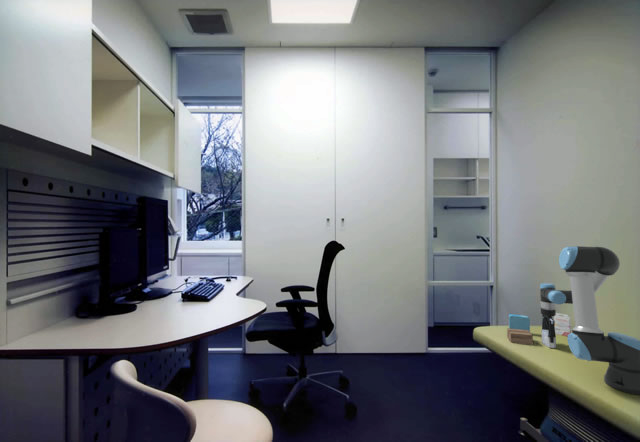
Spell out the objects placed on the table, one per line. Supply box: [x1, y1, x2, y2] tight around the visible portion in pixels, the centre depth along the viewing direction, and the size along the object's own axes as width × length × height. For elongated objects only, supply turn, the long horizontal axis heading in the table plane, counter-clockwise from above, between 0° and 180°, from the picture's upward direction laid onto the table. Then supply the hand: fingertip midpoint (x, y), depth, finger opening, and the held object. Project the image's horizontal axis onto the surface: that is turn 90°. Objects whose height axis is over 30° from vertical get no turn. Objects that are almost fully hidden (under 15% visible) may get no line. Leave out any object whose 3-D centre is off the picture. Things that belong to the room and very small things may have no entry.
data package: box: [508, 313, 531, 333], centre depth 215 cm, size 12×4×12 cm, turn 60°
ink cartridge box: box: [553, 312, 572, 337], centre depth 211 cm, size 9×5×15 cm, turn 43°
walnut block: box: [506, 327, 534, 346], centre depth 199 cm, size 10×12×6 cm
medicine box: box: [541, 329, 557, 349], centre depth 191 cm, size 8×4×9 cm, turn 168°
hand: (548, 345), depth 191 cm, fingers closed on medicine box, 8 cm apart
